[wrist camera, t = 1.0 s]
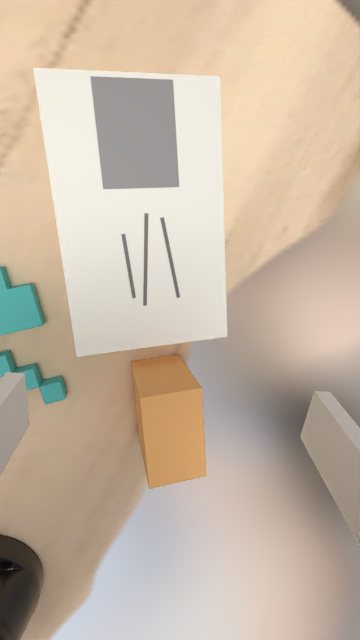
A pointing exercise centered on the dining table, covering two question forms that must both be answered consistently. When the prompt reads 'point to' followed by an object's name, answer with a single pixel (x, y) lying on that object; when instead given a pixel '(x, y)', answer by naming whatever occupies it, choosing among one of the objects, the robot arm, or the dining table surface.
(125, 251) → the painted board
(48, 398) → the alien figure
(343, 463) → the robot arm
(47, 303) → the dining table surface
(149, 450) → the tan rectangular block
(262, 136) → the dining table surface
